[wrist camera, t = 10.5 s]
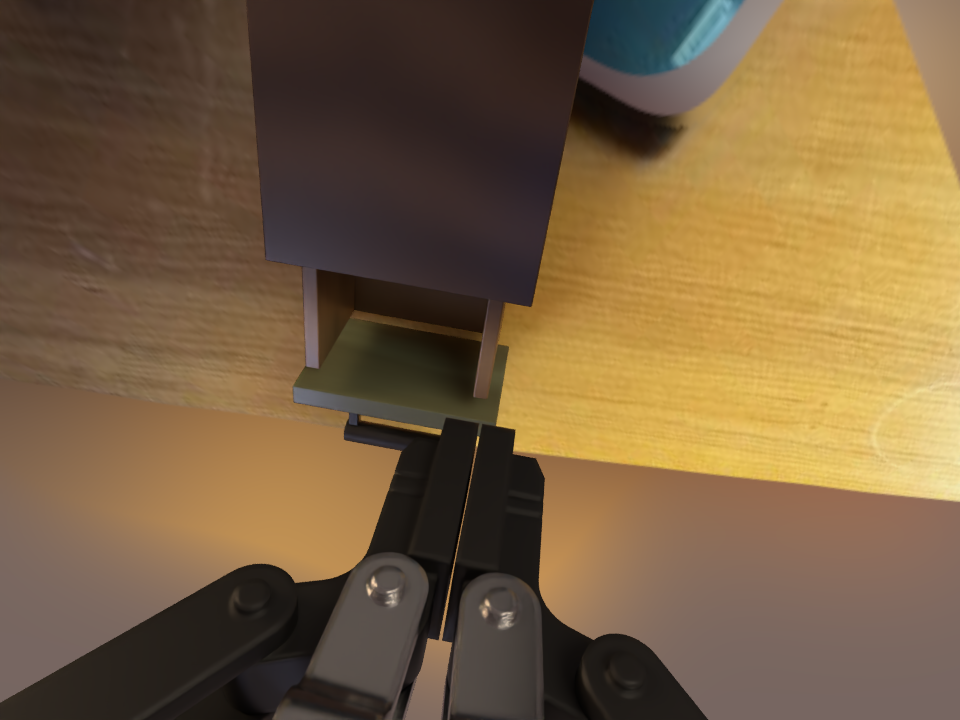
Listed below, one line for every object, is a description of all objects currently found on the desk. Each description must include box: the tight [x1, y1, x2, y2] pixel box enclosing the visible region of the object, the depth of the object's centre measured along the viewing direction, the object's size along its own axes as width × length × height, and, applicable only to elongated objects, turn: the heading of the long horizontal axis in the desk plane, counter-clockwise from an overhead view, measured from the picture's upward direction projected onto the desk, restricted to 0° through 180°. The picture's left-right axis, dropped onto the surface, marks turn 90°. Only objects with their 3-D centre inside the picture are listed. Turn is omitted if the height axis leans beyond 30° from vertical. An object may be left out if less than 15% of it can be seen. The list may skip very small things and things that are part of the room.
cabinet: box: [246, 0, 594, 307], centre depth 29 cm, size 15×13×10 cm
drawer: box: [293, 267, 509, 451], centre depth 36 cm, size 18×11×8 cm, turn 172°
